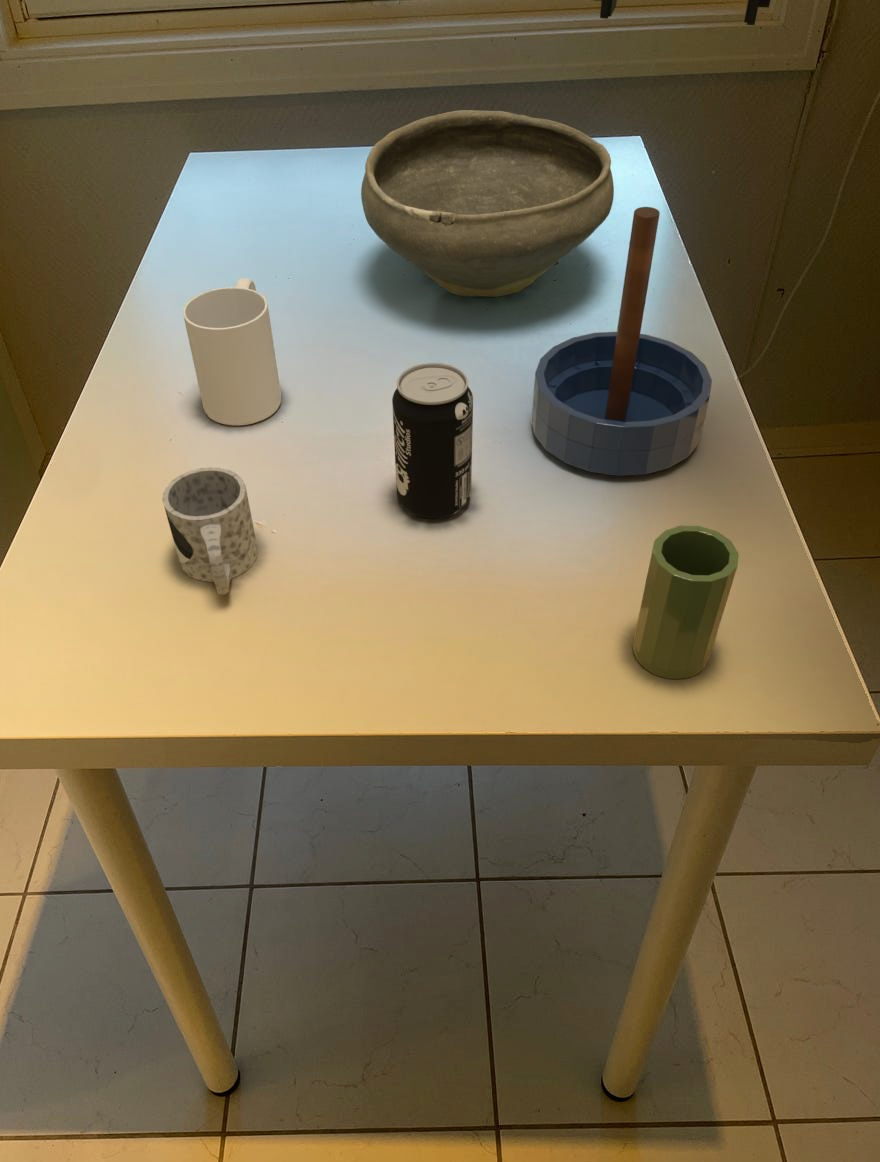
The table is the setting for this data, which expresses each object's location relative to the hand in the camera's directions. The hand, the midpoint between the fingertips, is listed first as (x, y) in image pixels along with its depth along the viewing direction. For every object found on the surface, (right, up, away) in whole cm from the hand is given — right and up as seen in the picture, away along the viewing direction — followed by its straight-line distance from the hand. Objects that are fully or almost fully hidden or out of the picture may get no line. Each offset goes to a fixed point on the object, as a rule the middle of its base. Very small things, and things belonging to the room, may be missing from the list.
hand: (677, 16), depth 66 cm
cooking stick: (+1, -23, +25) cm, 34 cm away
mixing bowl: (+1, -23, +25) cm, 34 cm away
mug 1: (-35, -18, +32) cm, 51 cm away
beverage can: (-16, -31, +19) cm, 40 cm away
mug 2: (-34, -37, +14) cm, 53 cm away
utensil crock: (+1, -44, +6) cm, 44 cm away
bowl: (-9, -1, +47) cm, 48 cm away
